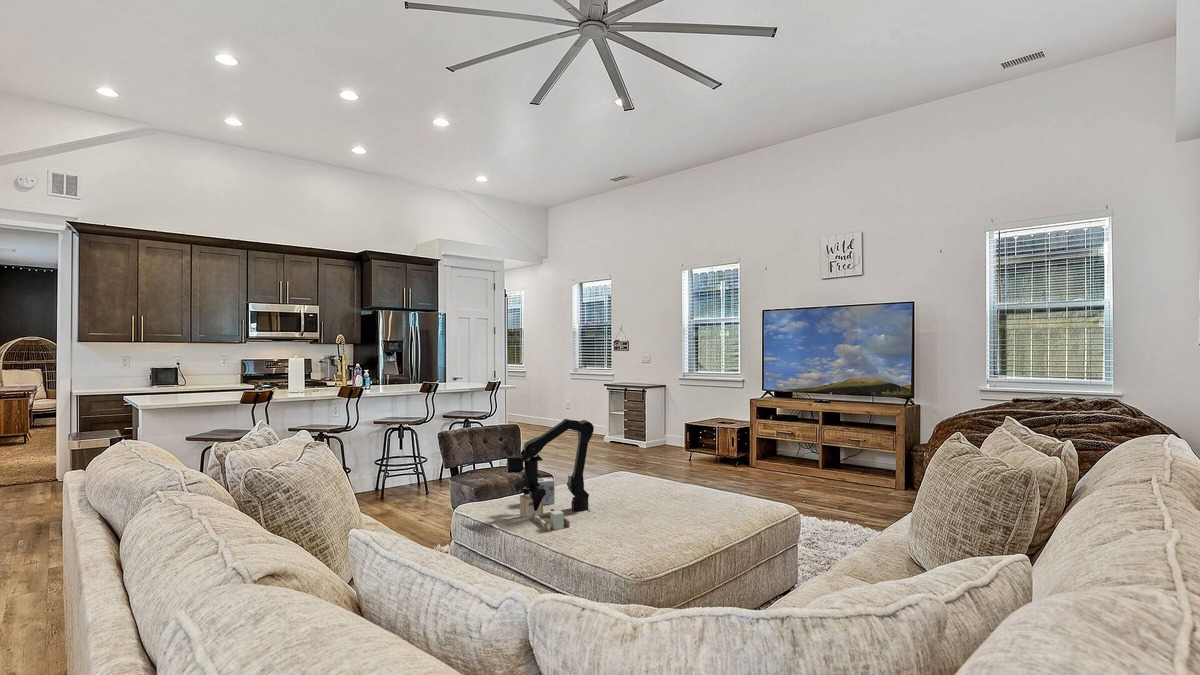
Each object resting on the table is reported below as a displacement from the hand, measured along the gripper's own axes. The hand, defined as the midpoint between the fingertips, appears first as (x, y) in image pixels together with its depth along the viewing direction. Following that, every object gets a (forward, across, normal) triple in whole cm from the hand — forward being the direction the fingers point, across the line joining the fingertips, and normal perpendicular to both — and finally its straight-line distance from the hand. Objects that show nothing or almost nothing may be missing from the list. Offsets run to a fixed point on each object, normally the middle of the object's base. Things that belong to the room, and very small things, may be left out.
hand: (531, 507), depth 252 cm
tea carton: (+4, 0, 0) cm, 4 cm away
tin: (+3, +21, +3) cm, 21 cm away
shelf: (+4, +14, +3) cm, 15 cm away
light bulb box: (+4, -16, +11) cm, 20 cm away
